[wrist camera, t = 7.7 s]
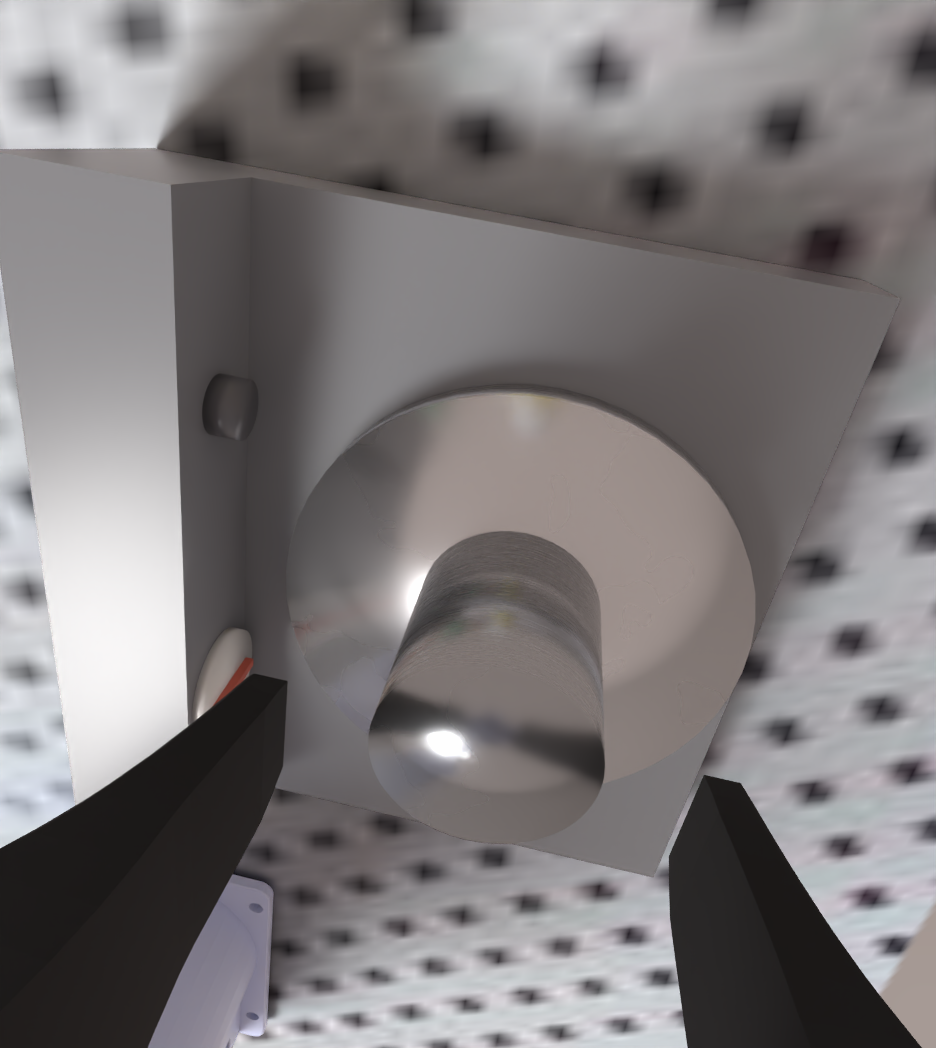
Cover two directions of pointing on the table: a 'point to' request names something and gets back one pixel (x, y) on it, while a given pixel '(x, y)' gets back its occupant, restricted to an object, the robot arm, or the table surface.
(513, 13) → the table surface
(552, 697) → the cylinder
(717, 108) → the table surface
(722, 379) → the scale
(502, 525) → the pan
